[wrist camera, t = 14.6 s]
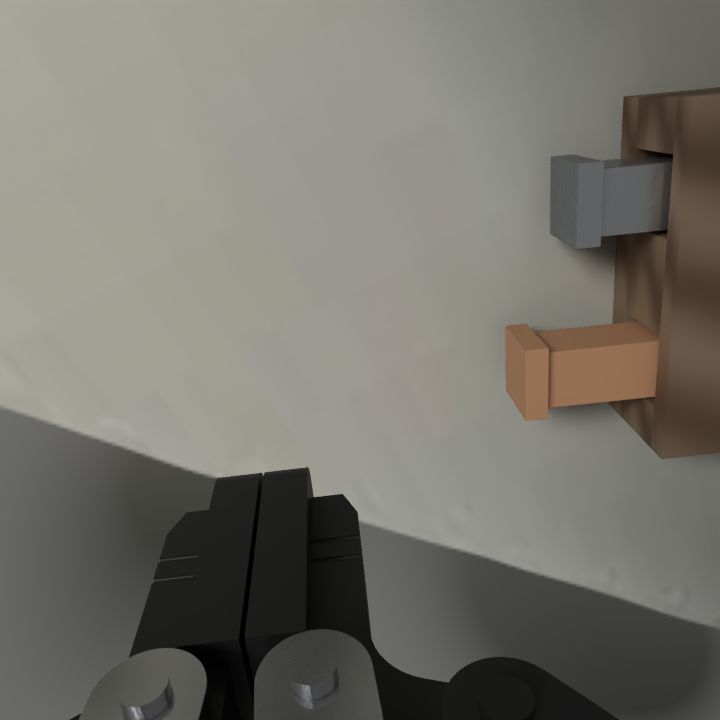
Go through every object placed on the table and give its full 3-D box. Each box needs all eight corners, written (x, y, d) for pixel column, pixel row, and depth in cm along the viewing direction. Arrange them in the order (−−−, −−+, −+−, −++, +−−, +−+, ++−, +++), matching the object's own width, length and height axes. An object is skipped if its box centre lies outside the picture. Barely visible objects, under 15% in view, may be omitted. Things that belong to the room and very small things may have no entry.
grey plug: (551, 156, 35) (578, 163, 31) (801, 131, 35) (858, 135, 32) (550, 233, 36) (576, 249, 33) (790, 209, 37) (843, 221, 33)
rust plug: (505, 326, 38) (525, 350, 34) (734, 302, 38) (779, 323, 35) (506, 390, 40) (525, 420, 36) (727, 366, 40) (769, 394, 36)
